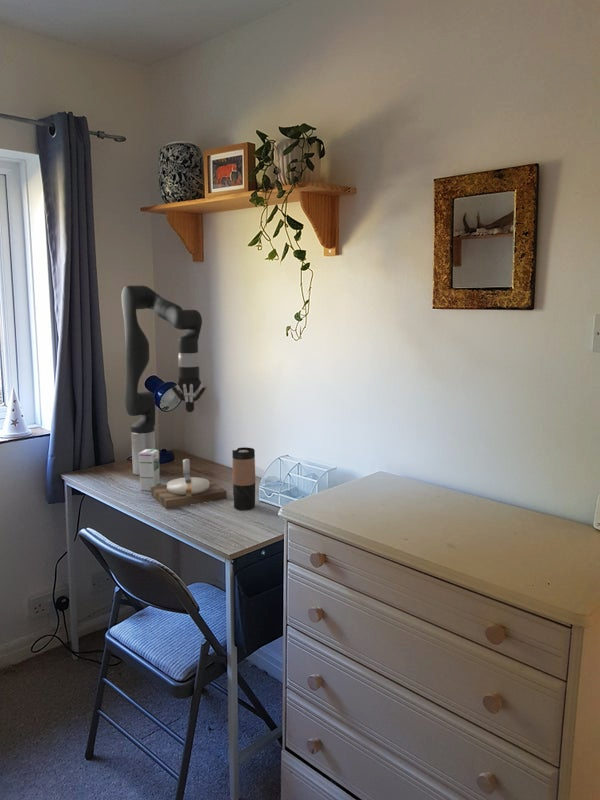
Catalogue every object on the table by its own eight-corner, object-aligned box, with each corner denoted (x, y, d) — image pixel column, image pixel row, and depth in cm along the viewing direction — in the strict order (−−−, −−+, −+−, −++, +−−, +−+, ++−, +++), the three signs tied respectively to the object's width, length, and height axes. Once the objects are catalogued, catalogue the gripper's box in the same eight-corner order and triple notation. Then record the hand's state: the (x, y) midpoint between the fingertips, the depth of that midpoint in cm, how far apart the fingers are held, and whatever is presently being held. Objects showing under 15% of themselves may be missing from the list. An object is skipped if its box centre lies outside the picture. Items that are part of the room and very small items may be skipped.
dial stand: (151, 494, 232) (150, 480, 231) (208, 486, 242) (208, 472, 241) (166, 509, 216) (165, 493, 215) (226, 499, 227) (226, 484, 226)
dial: (166, 481, 238) (165, 460, 237) (206, 478, 241) (206, 457, 240) (167, 496, 220) (166, 473, 219) (211, 493, 223) (210, 470, 222)
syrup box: (154, 491, 236) (153, 453, 234) (139, 490, 238) (138, 452, 235) (161, 486, 242) (159, 449, 240) (146, 485, 243) (145, 448, 241)
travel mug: (256, 510, 215) (255, 452, 212) (233, 511, 214) (232, 453, 211) (254, 502, 222) (253, 446, 219) (232, 504, 221) (231, 447, 218)
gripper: (209, 364, 236) (210, 410, 239) (173, 363, 237) (175, 410, 240) (204, 366, 229) (205, 414, 231) (167, 366, 230) (169, 413, 233)
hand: (190, 411), depth 236 cm, fingers closed
